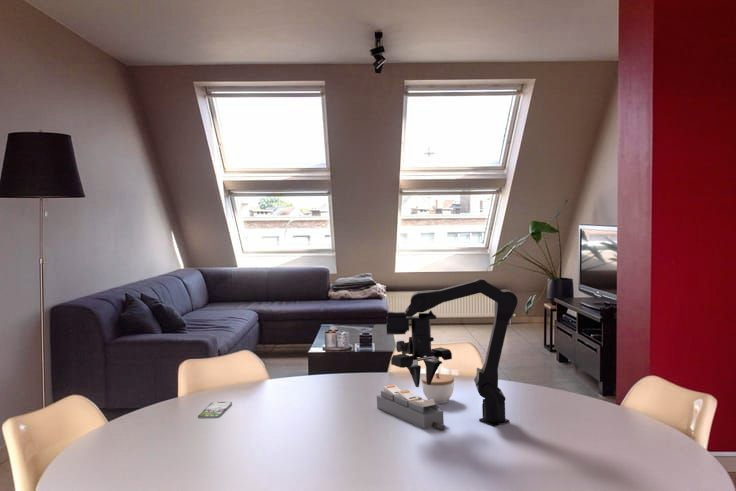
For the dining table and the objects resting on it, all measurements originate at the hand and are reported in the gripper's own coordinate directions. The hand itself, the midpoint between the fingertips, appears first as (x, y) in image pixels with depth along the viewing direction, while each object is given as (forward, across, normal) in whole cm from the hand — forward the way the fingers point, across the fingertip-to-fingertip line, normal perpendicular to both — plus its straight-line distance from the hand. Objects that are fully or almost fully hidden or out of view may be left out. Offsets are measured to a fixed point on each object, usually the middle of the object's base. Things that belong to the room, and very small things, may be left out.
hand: (422, 385), depth 179 cm
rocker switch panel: (+11, 0, -6) cm, 13 cm away
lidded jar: (+11, -17, -15) cm, 25 cm away
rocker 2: (+5, 0, -8) cm, 10 cm away
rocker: (+5, 0, -16) cm, 17 cm away
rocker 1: (+5, 0, 0) cm, 5 cm away
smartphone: (+12, +48, -51) cm, 71 cm away
